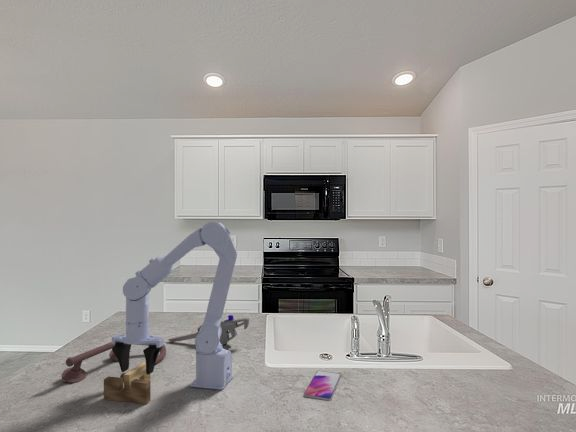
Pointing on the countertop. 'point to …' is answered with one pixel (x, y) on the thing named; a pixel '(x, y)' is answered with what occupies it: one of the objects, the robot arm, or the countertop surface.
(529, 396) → the countertop surface
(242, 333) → the countertop surface
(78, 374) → the toilet paper hanger
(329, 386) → the smartphone
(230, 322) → the toy gun
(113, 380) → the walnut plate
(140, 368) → the light wooden block
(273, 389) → the countertop surface
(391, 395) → the countertop surface
